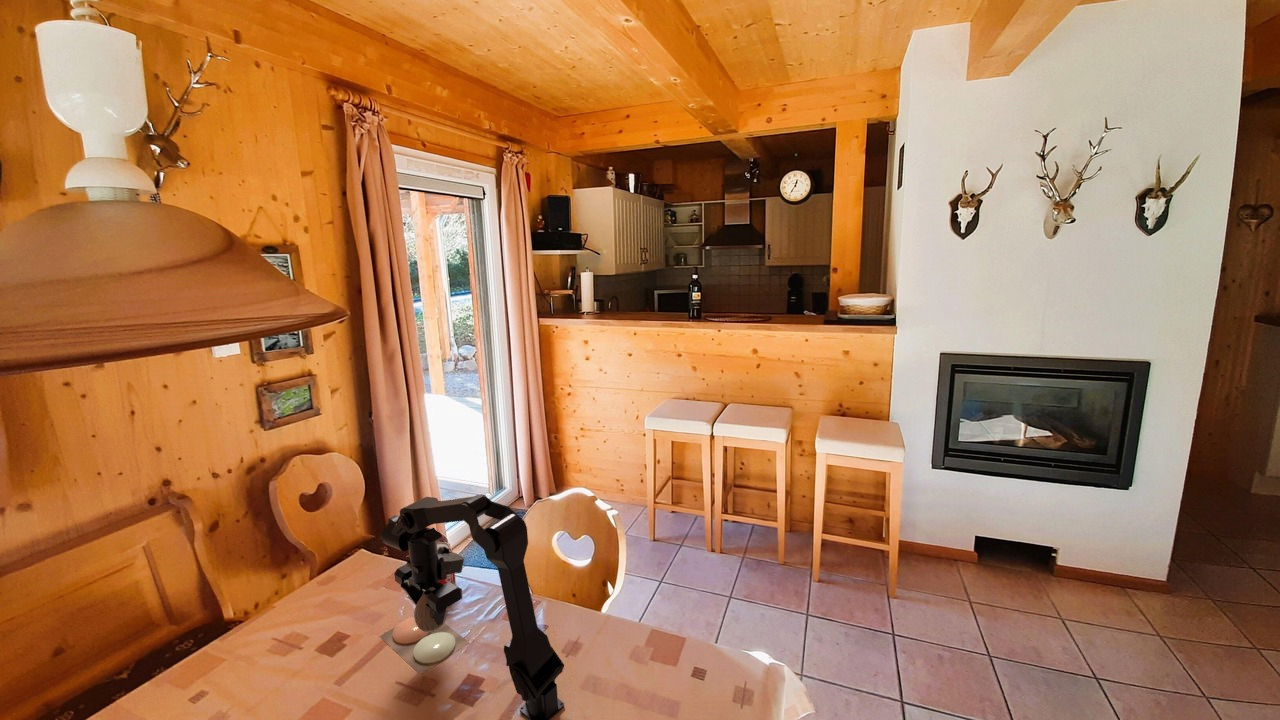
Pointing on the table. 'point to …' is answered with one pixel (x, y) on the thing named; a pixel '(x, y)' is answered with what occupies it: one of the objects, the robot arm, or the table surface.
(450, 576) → the soda can
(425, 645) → the cream disc
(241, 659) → the table surface
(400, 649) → the board
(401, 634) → the terracotta disc
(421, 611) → the vase
